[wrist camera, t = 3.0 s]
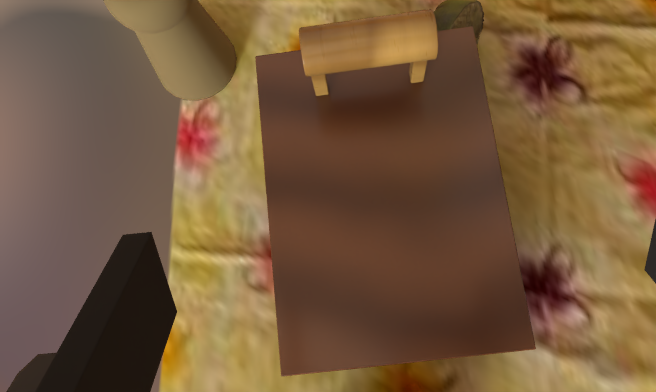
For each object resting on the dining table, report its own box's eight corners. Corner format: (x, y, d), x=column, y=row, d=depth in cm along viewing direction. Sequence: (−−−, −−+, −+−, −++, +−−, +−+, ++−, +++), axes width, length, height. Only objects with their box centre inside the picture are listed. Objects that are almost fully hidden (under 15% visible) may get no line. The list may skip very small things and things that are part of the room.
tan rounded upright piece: (172, 113, 41) (101, 34, 30) (146, 46, 42) (69, -52, 32) (248, 80, 41) (203, -11, 30) (219, 14, 42) (167, -94, 32)
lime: (477, 21, 40) (491, -22, 36) (484, 82, 39) (499, 46, 34) (416, 25, 41) (421, -17, 36) (420, 86, 40) (426, 51, 35)
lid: (258, 63, 31) (231, -1, 25) (470, 34, 30) (493, -38, 25) (284, 375, 27) (258, 385, 21) (530, 348, 26) (575, 352, 20)
